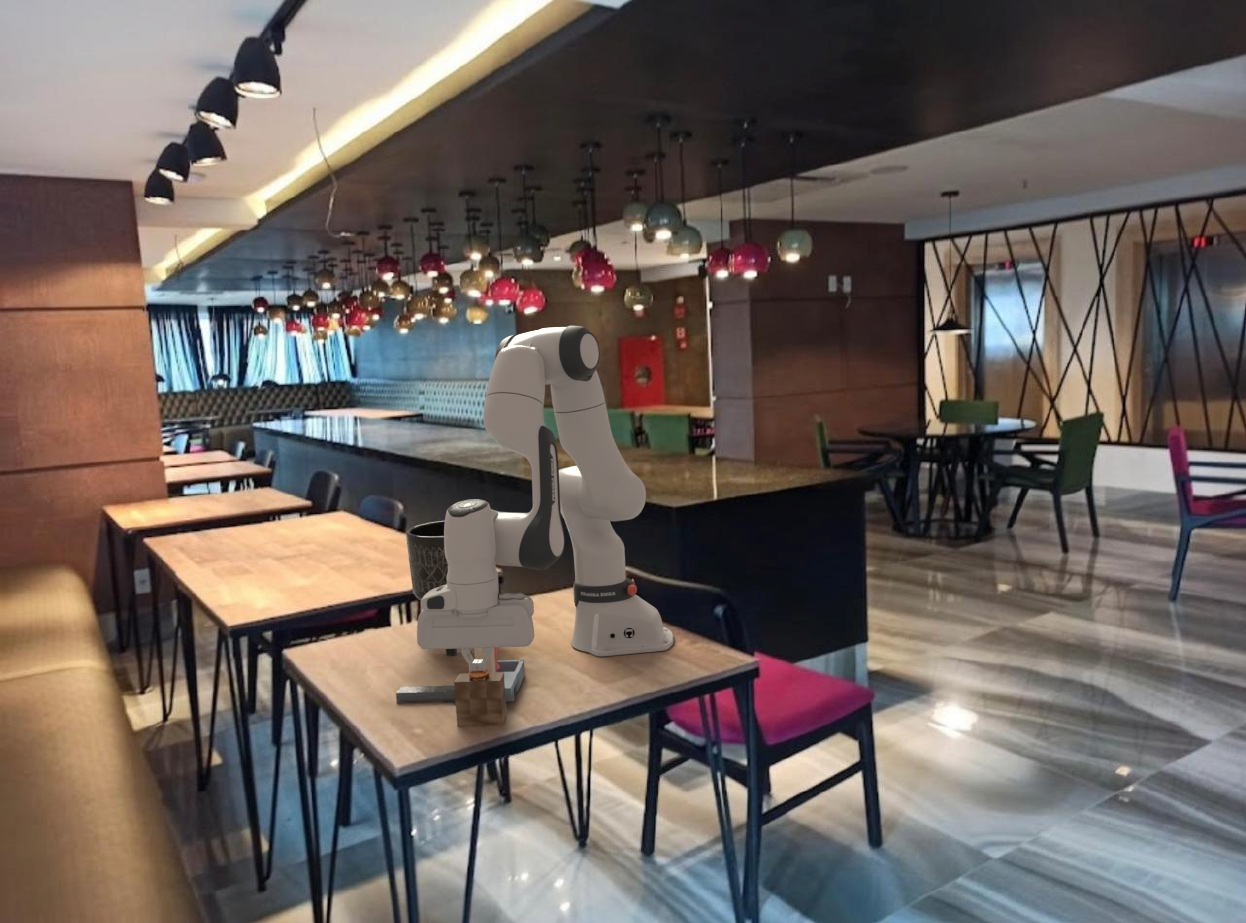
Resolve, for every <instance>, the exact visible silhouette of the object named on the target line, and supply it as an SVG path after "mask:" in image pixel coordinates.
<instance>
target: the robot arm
mask: <svg viewBox="0 0 1246 923" xmlns="http://www.w3.org/2000/svg"><path fill="white" fill-rule="evenodd" d="M600 354H601V351H600V345H599V342H598V340H597V338H596V336H595V335H594V333H593V332H592V331H591V330H590V329H589V328H588V327H586V326H581V325H568V326H560V327H559V326H556V327H555V326H554V327H544V328H540V329H537V330H532V331H528V332H523V333H515V334H512V335H509V336H507V337H505V338H503V339H502V340H501V341H500V343H499V344H498V346H497V349H496V351H495V356H494V358H495V359H494V363H493V365H492V368H491V371H490V376H489V378H488V383H487V388H486V393H485V399H484V404H483V412H482V413H483V416H482V419H483V426H484V429H485V431H486V433H487V434H488V435H489V438H491V439H492V441H494V442H496V444H498V445H500V446H501V447H503V448H505V449H507V450H509V451H512V452H514V453H516V454H518V455H521V456H523V457H524V458H525V459H526V460H527V461H528V462H529V465H530V468H531V487H532V488H531V489H532V508H531V509H530V511H529V512H508V511H507V512H506V511H498V510H495V509H492V508H491V506H490V503H489V502H488V501H486V500H483V499H479V498H477V499H475V498H474V499H466V500H461V501H458V502H455V503H454V504H452V505H450V506H449V507H448V508H447V510H446V513H445V517H444V521H445V525H444V549H445V558H446V560H447V563H448V573H447V584H446V585H443V586H440V587H437V588H434V589H432V590H430V591H429V592H428V593H426V594H425V595H424V596H423V598H422V600H420V607H421V609H422V611H421V612H420V614H419V615H418V618H417V626H416V641H417V645H418V646H419V648H421V649H422V650H446V649H457V650H458V649H461V655H462V658H464V660H465V661H466V662H467V664H468V673H469V672H486V671H487V659H488V657H489V655H490V653H491V651H492V650H493V647H497V648H521V647H523V648H524V647H529V646H530V645H531V644H532V642H534V639H535V628H534V622H533V614H534V613H535V612H534V611H535V607H534V606H535V604H534V600H533V598H532V597H531V596H530V595H526V594H525V593H524V592H517V593H513V592H512V593H510V592H503V593H502V592H501V593H500V589H499V586H500V585H499V573H498V570H497V565H499V566H504V567H505V566H507V567H522V568H526V569H531V570H538V571H545V570H547V569H549V568H550V567H551V566H553V565H554V564H555V563H556V562H557V561H558V560H559V559H560V558H561V557H562V556H563V552H564V550H565V549H564V548H565V533H564V532H565V531H564V526H563V520H562V518H563V519H564V522H565V525H566V529H567V531H568V534H569V537H570V541H571V544H572V550H573V560H574V561H573V562H574V563H573V564H574V576H575V577H574V578H575V580H574V582H573V588H572V591H573V592H572V593H573V603H574V606H575V618H574V619H575V621H574V627H573V634H572V638H571V643H570V645H571V646H572V647H573V648H575V649H576V650H579V651H581V652H586V653H590V654H592V655H593V656H596V657H610V656H621V655H631V654H641V653H652V652H662V651H666V650H669V649H670V648H671V647H672V646H673V644H674V633H673V632H672V631H671V629H670V628H667V627H665V626H664V625H663V621H662V617H661V615H660V613H659V611H658V609H657V608H656V607H654V606H653V605H652V604H650V603H649V602H647V601H646V600H644V599H643V598H641V597H640V596H639V595H637V594H636V593H637V591H638V587H637V585H636V582H635V580H634V578H632V579H630V578H629V577H627V575H626V555H625V545H624V542H623V540H622V539H621V537H620V536H619V535H618V534H617V533H616V531H615V530H614V528H613V526H612V524H611V522H621V521H629V520H633V519H635V518H636V517H638V516H639V515H640V514H641V513H642V511H643V509H644V507H645V504H646V500H647V491H646V487H645V484H644V482H643V481H642V479H641V478H639V476H637V475H636V474H635V473H634V472H633V471H632V470H631V468H630V467H629V466H628V464H627V463H626V461H625V459H624V457H623V456H622V454H621V452H620V450H619V448H618V446H617V443H616V441H615V438H614V436H613V433H612V429H611V424H610V419H609V414H608V409H607V404H606V399H605V394H604V390H603V387H602V382H601V379H600V377H599V373H598V371H597V368H598V366H599V363H600V358H601V355H600ZM546 385H550V395H551V402H552V407H553V413H554V414H553V415H554V418H555V423H556V428H557V429H556V430H557V433H558V438H559V442H560V443H559V444H560V445H561V448H562V449H563V450H564V451H565V453H566V454H567V455H569V456H570V457H571V459H572V460H573V462H574V463H575V465H573V466H569V467H564V468H560V469H559V454H558V445H557V440H556V436H555V434H554V432H553V431H552V429H550V428H549V427H547V425H546V423H545V420H544V419H545V418H544V407H545V406H544V405H545V397H546V396H545V394H546ZM495 564H496V567H495ZM474 648H482V653H486V654H485V656H484V658H483V659H479V660H475V657H474V656H473V655H472V653H471V652H472V651H473V649H474Z"/></svg>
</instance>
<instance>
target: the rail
mask: <svg viewBox="0 0 1246 923" xmlns="http://www.w3.org/2000/svg"><path fill="white" fill-rule="evenodd" d="M395 696H396V704H412V703H413V704H417V703H420V704H421V703H422V704H423V703H452V702H455V703H456V700H455V686H454V685H429V686H428V685H427V686H426V685H425V686H423V685H422V686H419V685H418V686H399V689H398V690H396V692H395ZM515 696H516V692H515V687H514V697H515Z"/></svg>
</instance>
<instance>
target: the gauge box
mask: <svg viewBox="0 0 1246 923" xmlns="http://www.w3.org/2000/svg"><path fill="white" fill-rule="evenodd" d="M453 686H455V700H456V702H455V711H456V712H455V713H456V725H457V727H463V726H465V727H469V726H470V727H473V726H476V727H477V726H503V725H504V722H505V719H506V718H507V704H506V703H507V701H506V699H505V683H504V673H489V676H487V677H486V680H474V681H473V679H472V678H470V677H469V674H468V673H459V674H458V675H457V677H456V678H455V680H454V685H453Z"/></svg>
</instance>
